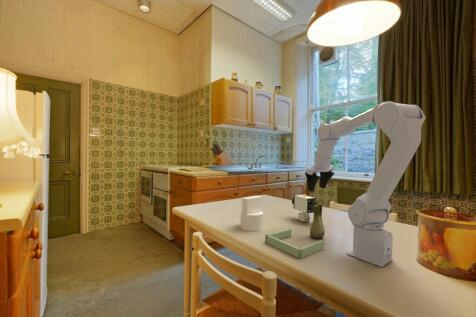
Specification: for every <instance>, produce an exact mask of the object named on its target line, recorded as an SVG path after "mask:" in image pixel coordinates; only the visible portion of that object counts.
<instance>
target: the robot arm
mask: <svg viewBox="0 0 476 317" xmlns="http://www.w3.org/2000/svg"><path fill="white" fill-rule="evenodd" d="M426 119H427V118H426V116H425V113H424V112H423V110H422V109H421V107H420V106H418V105H417V104H404V103H398V102H393V101H383V102H381V103H380V104H379V103H378V104H375V105H374V106H373V108H370V109H368V110H365V112H363V113H360V114H358V115H356V116H354V117H351V116H346V115H345V116H344V115H343V116H341V117H340V119H338V120H336V121H335V120H333V121H331V122H330V123H329V124H327V123H322V124H320V125H319V126H318V129H317V134H316V135H317V137H318V144H317V149H316V154H315V158H314V162H313V163H312V164H311V165H310V167H308V168H307V171H305V172H304V175H305V177H306V181H307V191H309V192H311V193H314V191H315V188H316V185H317V183H318V181H319V183H318V184H319V188H320V189H326V187H327V185H328V183H329V181H330V180H331V178H333V177H334V175H335V172H334V168H335V166H334V165H332V164H331V162H332V159H333V155H334V150H335V146H336V145H337V143H338V141H339V140H340V139H341V138H342V137H344V136H348V135H350V134H351V135H352V134H353V133H354V132H355V131H356V130H357V129H358V128H361V127H364V126H369V125H372V124H376V125H377V127H379V129H380V130H382V132H383V133H384V134H385V135H386V136H387V137H388V140H389V141H390V144H389V146H388V148H387V150H386V152H385V154H384V157H382V160H381V162H380V164H379V166H378V168H377V170H376V172H375V174H374V176H373V178H372V180H371V182H370V184H369V185H368V187H367V190H366V191H365V193H363V194H361V195H360V196H358V197H357V198H356V199H355V200H354V202H353V203H352V204H350V205H349V206H348V209H347V215H348V218H349V220H350V222H351V225H353V234H352V235H353V239H352V249H351V250H349V251H346V255H347V256H352V257H354V258H357V259H360V260H361V261H365V262H367V263H370V264H372V265H376V266H378V267H380V268H383V267H384V266H386V265H387V264H389V263H390V262H392V261H393V260H394V258H393V246H394V245H393V243H394V242H393V241H394V238H393V233H392V232H391V231H388V230H385V229H384V228H385V224H386V223H387V222H388V221H389V219H390V211H391V209H392V208H393V207H392V204H391V203H390V202H389V199H390V198H391V196H392V194H393V193H394V190H395V188H396V187H397V185H398V184H399V182H400V180H401V178H402V176H403V175H404V173H405V171H406V169H407V168H408V166H409V164H410V163H411V160H412V159H413V157H414V155H415V154H416V152H417V150H418V148H419V146H420V144H421V142H422V125H423V124H424V122H425V120H426ZM318 173H319V175H318Z"/></svg>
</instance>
